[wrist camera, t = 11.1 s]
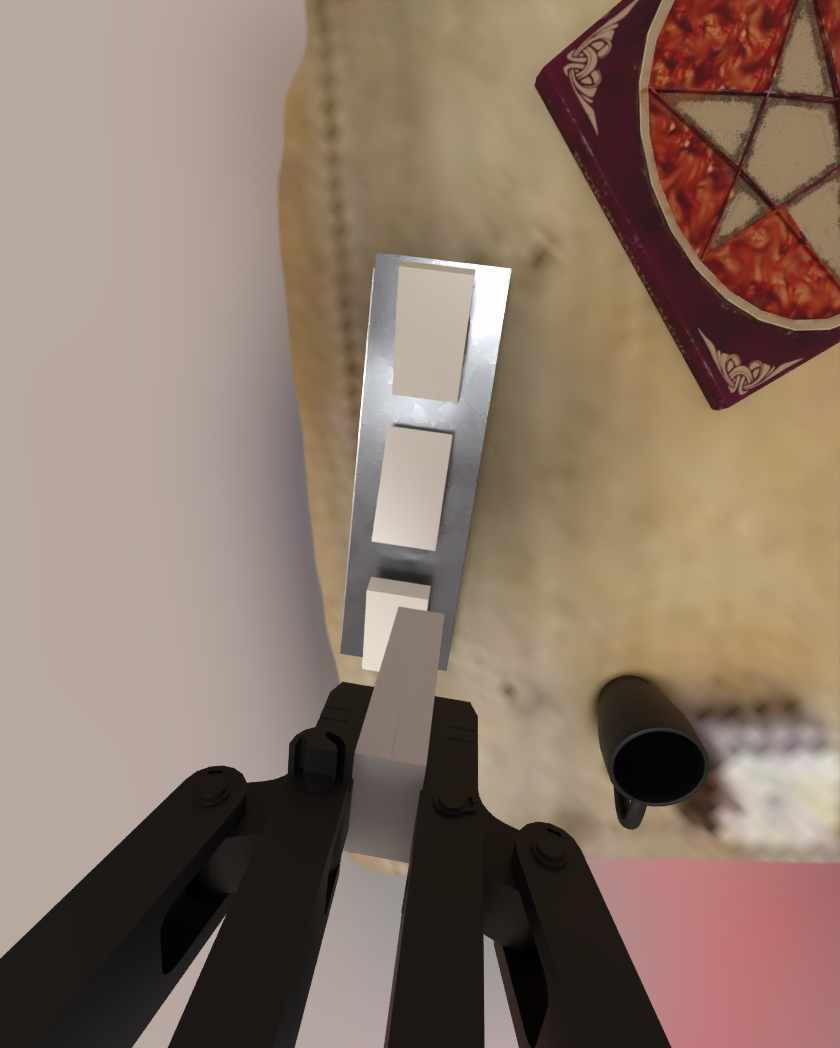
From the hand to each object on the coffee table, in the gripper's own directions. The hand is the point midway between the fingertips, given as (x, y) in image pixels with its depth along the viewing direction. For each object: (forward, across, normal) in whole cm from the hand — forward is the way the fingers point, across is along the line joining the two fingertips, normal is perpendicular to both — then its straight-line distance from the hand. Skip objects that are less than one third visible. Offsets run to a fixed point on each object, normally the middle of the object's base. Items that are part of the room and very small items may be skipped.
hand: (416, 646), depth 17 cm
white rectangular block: (+27, -3, -2) cm, 27 cm away
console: (+32, -3, -2) cm, 32 cm away
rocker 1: (+27, -3, +11) cm, 29 cm away
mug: (+32, +21, -24) cm, 45 cm away
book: (+34, +19, +25) cm, 46 cm away
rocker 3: (+27, -3, -14) cm, 30 cm away
